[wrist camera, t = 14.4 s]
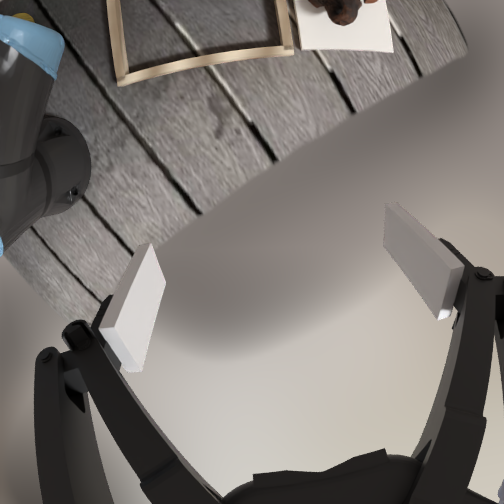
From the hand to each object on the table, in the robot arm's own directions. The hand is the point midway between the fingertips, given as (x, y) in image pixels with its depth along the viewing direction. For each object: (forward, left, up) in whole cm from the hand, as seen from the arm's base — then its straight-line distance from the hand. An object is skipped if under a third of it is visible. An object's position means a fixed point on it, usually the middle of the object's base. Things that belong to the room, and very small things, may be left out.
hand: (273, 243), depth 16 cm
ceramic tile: (+14, +21, -26) cm, 36 cm away
